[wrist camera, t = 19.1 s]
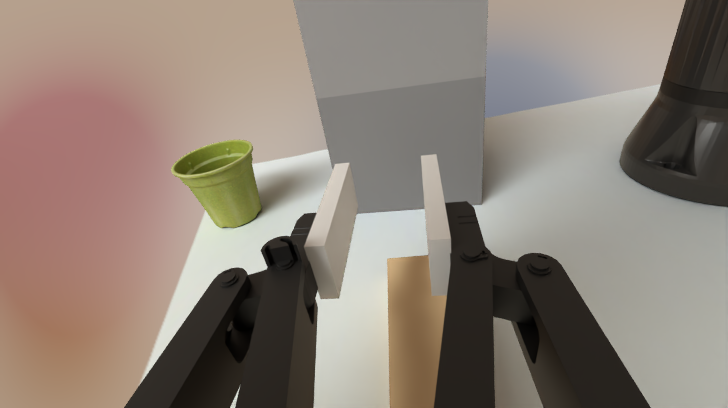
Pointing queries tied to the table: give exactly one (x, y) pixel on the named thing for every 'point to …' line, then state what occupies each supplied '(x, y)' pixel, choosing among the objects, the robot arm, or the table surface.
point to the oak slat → (413, 332)
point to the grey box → (400, 93)
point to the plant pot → (222, 181)
